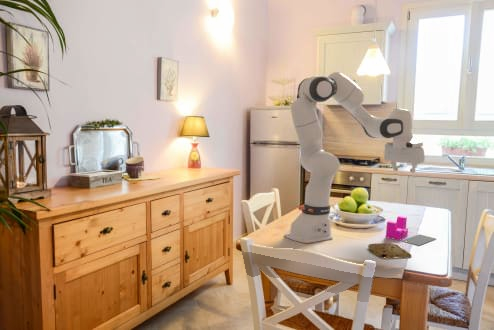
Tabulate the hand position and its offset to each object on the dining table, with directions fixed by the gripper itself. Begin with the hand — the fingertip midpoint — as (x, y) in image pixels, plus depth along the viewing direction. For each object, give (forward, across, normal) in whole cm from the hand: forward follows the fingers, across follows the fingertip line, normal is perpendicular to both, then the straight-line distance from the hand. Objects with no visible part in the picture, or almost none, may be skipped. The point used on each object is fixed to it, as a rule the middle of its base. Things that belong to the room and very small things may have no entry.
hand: (404, 171), depth 190 cm
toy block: (+29, +3, -10) cm, 31 cm away
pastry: (+27, +17, -34) cm, 46 cm away
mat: (+29, +13, -8) cm, 33 cm away
